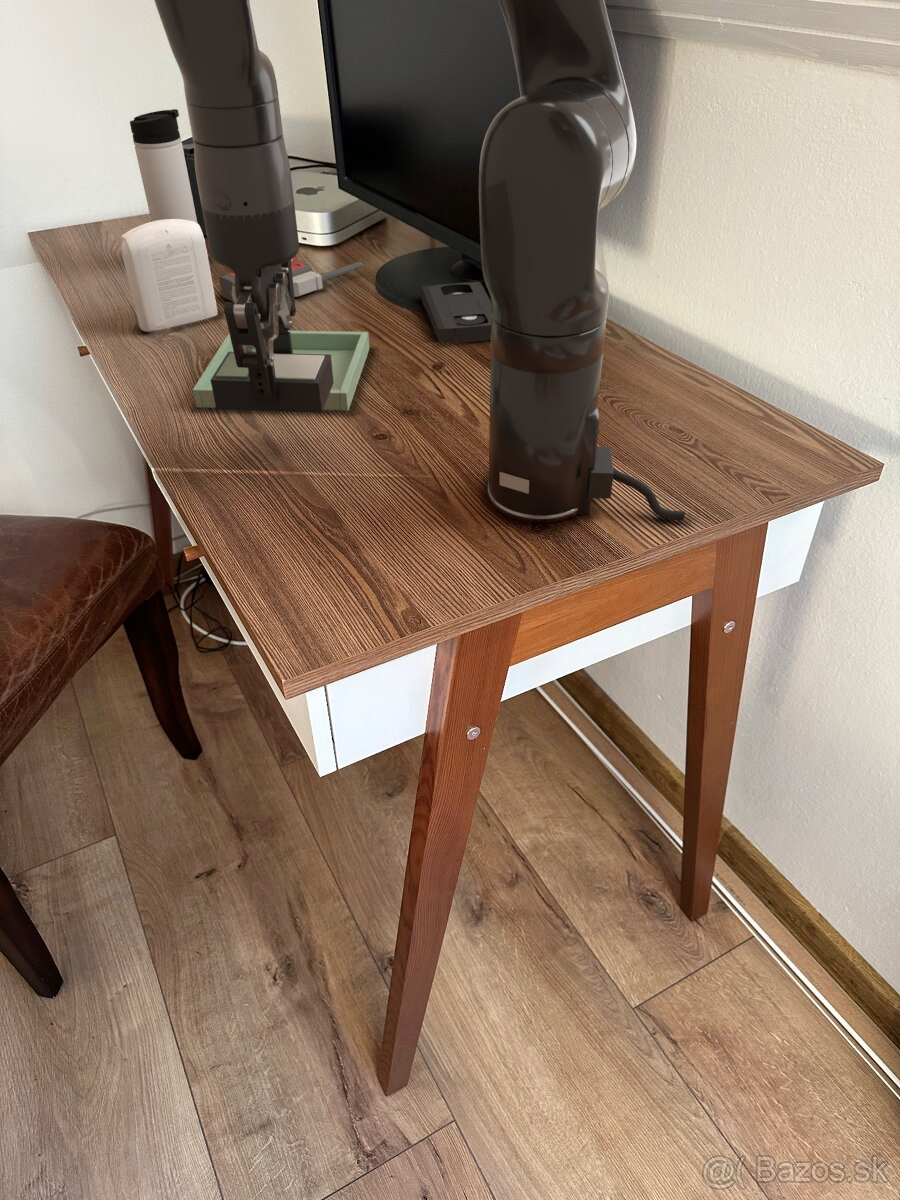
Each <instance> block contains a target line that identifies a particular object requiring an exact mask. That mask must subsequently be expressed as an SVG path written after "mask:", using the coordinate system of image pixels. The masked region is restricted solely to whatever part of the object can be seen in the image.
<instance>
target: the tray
mask: <svg viewBox="0 0 900 1200" xmlns="http://www.w3.org/2000/svg"><path fill="white" fill-rule="evenodd" d="M288 332H290V335H291V342H292V350H293V353H295V354H330V355H331V361H332V371H333V381H334V383H333V386H332V388H331V391H330V394H329V396H328V399H327V401H326V404H325V406H324V409H323V411H350V407H351V404H352V402H353V399H354V395H355V392H356V389H357V386H358V384H359V381H360V377H361V375H362V372H363V370H364V366H365V363H366V361H367V358H368V354H369V351H370V335H369V332H368V331H342V330H341V331H338V330H337V331H335V330H288ZM252 351H255V352H256V349H255V347H254V346H252ZM228 352H234V351H233V347H232V342H231V338H230V334H229V333H228V334H227V336H226V337H225V338H224V340H223V342H222V343H221V345H220V346H219V347H218V350H216V353H215V354H214V355H213V357H212V358H211V360H210V362H209V363H208V365H207V367H206V368H205V369H204V371H203V373H202V375H201V376H200V377H199V379H198V381H197V382H196V383H195V385H194V387H193V389H192V394H193V398H194V403H195V407H196V408H205V409H207V408H208V409H209V408H211V409H216V405H215V400H214V395H213V390H212V385H211V378H212V377H213V375H214V374H215V372H216V370H217V369H218V367H219V366H220V364H221V363H222V361H223V359H224V358H225V356H226V355H227V353H228Z"/></svg>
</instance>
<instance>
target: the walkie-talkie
mask: <svg viewBox="0 0 900 1200" xmlns="http://www.w3.org/2000/svg"><path fill="white" fill-rule="evenodd" d="M291 265H292V276H293V288H294V298H298V297H301V296H304V295H307V294H310V293H313V292H316V291H320V290H322V289H323V288H324V287H323V284H325V283H327V282H328V281H332V280H333V279H336V278H340V277H343V276H345V275H348V274H349V273H350V272H351V271H354V270H357V269H359V268H363V267H364V265H363V262H361V261H356V262H354V263H351V264H348V265H344V266H342V267H339V268H336V269H333V270H330V271H326V272H321V273H317V272H315V271H313V266H312V265H311V264H310V263H309V262H306V261H303V260H301V259H298V257H297V255H296V256H295V257H293V258H292V259H291ZM234 277H235V273H234V271H232V272H230V273H226V274H224V275H221V276H219V277H218V280H219V285H220V291H221V296H222V298H224V299H226V300H227V301H229V302H231V303H235V302H234V301H233V297H232V285H233V282H235V278H234Z"/></svg>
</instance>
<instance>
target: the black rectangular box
mask: <svg viewBox="0 0 900 1200" xmlns="http://www.w3.org/2000/svg"><path fill="white" fill-rule="evenodd" d="M273 356H274V362H273V363H274V368H275V375H276V382H277V389H278V399H277V401H276V402H275V403H273V404H270V403H257V402H255V401H254V399H253V395H252V389H251V383H250V377H249V371H248V368H239V367H237V364H236V360H235V355H234V352H228V353H227V355H226V356H225V358H224V359H223V361H222V363H221V364H220V366H219V367H218V369H217V370H216V372H215V374H214V375H213V377H212V378H211V385H212V390H213V395H214V400H215V405H216V408H215V409H216V410H223V411H224V410H225V411H251V412H252V411H254V412H255V411H256V412H281V413H282V412H283V413H284V412H286V413H315V414H322V413H323V412H324V410H323V409H324V406H325V404H326V401H327V399H328V396H329V394H330V391H331V388H332V386H333V383H334V381H333V371H332V361H331V355H330V354H295V353H273Z"/></svg>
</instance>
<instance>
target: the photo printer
mask: <svg viewBox="0 0 900 1200" xmlns="http://www.w3.org/2000/svg"><path fill="white" fill-rule="evenodd" d="M197 223H198V222H197ZM197 223H196V222H194V221H190V220H183V219H165V220H157V221H153V222H152V221H149V222H146V223H142V224H140V225H138V226H135V227H134V228H131V229H129V230H128V231H126V232H124V233H123V234H122V235H121V236H120V245H121V256H122V260H123V264H124V267H125V271H126V276H127V280H128V285H129V290H130V293H131V298H132V301H133V306H134V309H135V315H136V318H137V322H138V327H139V329H140V330H141V331H143V332H146V333H150V332H157V331H162V330H166V329H170V328H174V327H180V326H183V325H187V324H191V323H194V322H200V321H202V320H207V319H210V318H214V317H216V316H218V313H219V311H218V305H217V301H216V294H215V289H214V284H213V278H212V273H211V267H210V266H211V265H210V261H209V255H208V250H207V246H206V240H205V239H206V238H205V237H204V234H203V230H202V228H201V226H200V224H199V223H198V224H197Z"/></svg>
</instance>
